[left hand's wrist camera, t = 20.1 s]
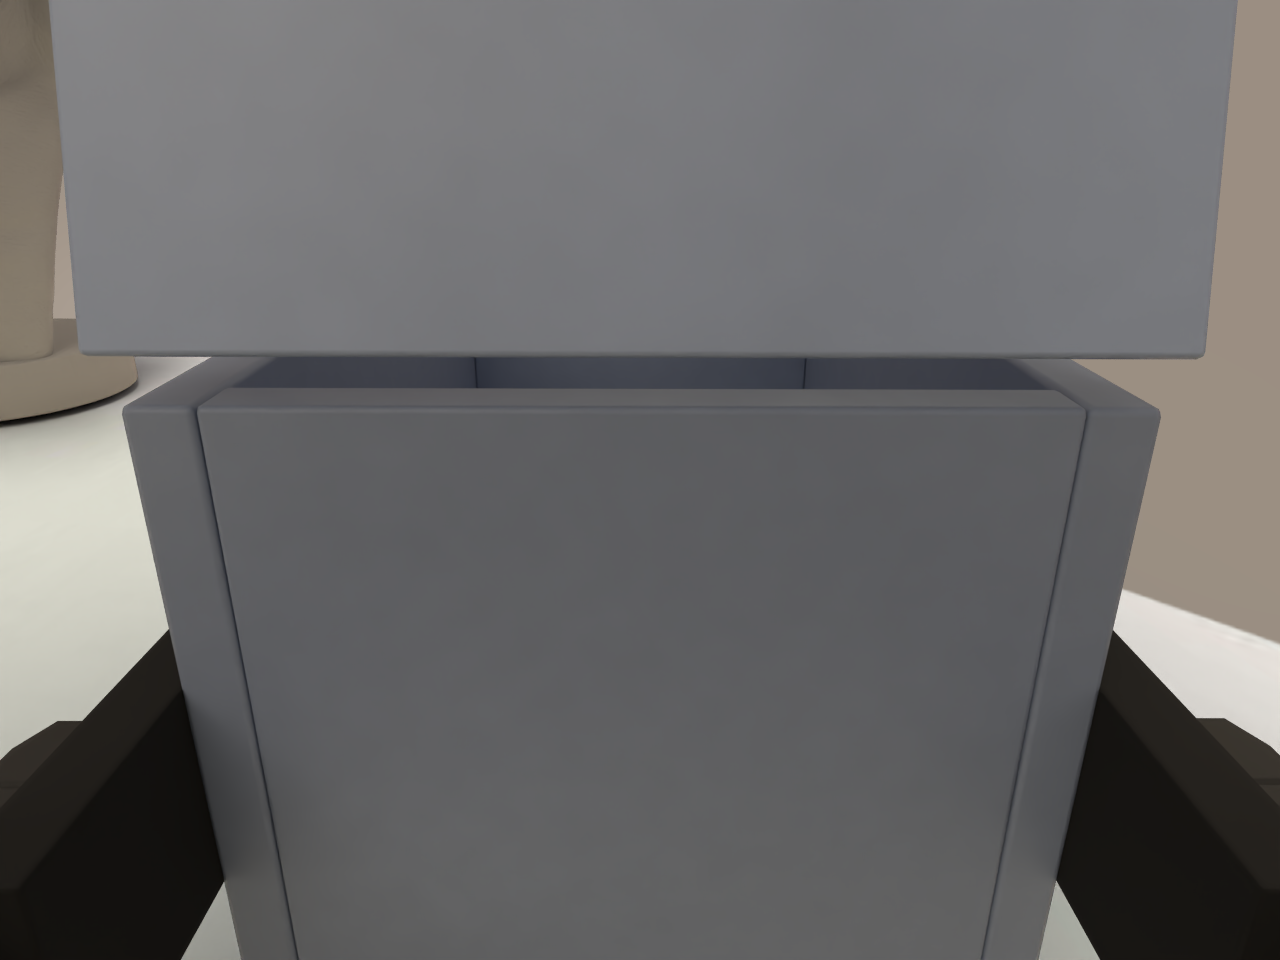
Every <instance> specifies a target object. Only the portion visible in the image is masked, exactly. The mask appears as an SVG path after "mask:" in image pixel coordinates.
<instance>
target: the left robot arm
mask: <svg viewBox="0 0 1280 960" xmlns="http://www.w3.org/2000/svg"><path fill="white" fill-rule="evenodd" d="M1056 881H1057V882H1058V884H1059V886H1060V888H1061V890H1062V891H1063V893H1064V895H1065V897H1066V899H1067V900H1068V902H1069V904H1070V906H1071V908H1072V910H1073V911H1074V913H1075V915H1076V917H1077V919H1078V920H1079V922H1080V924H1081V926H1082V928H1083V929H1084V931H1085V933H1086V935H1087V937H1088V938H1089V940H1090V942H1091V944H1092V946H1093V947H1094V949H1095V951H1096V953H1097V955H1098V956H1099V958H1100V960H1280V755H1279V754H1278V753H1277V752H1276V751H1275V750H1274V749H1273V748H1272V747H1271V746H1269V745H1268V744H1266V743H1264V742H1263V741H1261V740H1259V739H1258V738H1256V737H1254V736H1253V735H1251V734H1249V733H1248V732H1246V731H1244V730H1243V729H1241V728H1239V727H1238V726H1236V725H1234V724H1233V723H1231V722H1230V721H1228V720H1226V719H1225V718H1195V716H1194V715H1193V714H1192V713H1191V712H1190V711H1189V710H1188V709H1187V708H1186V707H1185V706H1184V705H1183V704H1182V703H1181V702H1180V701H1179V700H1178V698H1177V697H1176V696H1175V695H1174V694H1173V693H1172V692H1171V691H1170V690H1169V689H1168V688H1167V687H1166V686H1165V685H1164V684H1163V683H1162V682H1161V680H1160V679H1159V678H1158V677H1157V676H1156V675H1155V674H1154V673H1153V672H1152V671H1151V670H1150V669H1149V668H1148V667H1147V666H1146V665H1145V663H1144V662H1143V661H1142V660H1141V659H1140V658H1139V657H1138V656H1137V655H1136V654H1135V653H1134V652H1133V651H1132V650H1131V649H1130V648H1129V647H1128V645H1127V644H1126V643H1125V642H1124V641H1123V640H1122V639H1121V638H1120V637H1119V636H1118V635H1117V634H1116V633H1115V632H1114V631H1112V635H1111V640H1110V644H1109V649H1108V653H1107V657H1106V662H1105V666H1104V671H1103V675H1102V680H1101V684H1100V688H1099V692H1098V697H1097V701H1096V706H1095V710H1094V714H1093V719H1092V723H1091V728H1090V732H1089V737H1088V741H1087V746H1086V750H1085V755H1084V759H1083V764H1082V768H1081V772H1080V777H1079V781H1078V786H1077V790H1076V795H1075V799H1074V803H1073V808H1072V812H1071V817H1070V821H1069V826H1068V830H1067V834H1066V839H1065V843H1064V848H1063V852H1062V857H1061V861H1060V865H1059V870H1058V874H1057V879H1056ZM223 882H224V876H223V872H222V867H221V863H220V858H219V854H218V849H217V845H216V840H215V836H214V831H213V827H212V822H211V818H210V813H209V808H208V804H207V799H206V795H205V790H204V786H203V781H202V777H201V772H200V768H199V763H198V759H197V754H196V750H195V745H194V740H193V736H192V731H191V727H190V722H189V718H188V713H187V708H186V704H185V699H184V695H183V690H182V686H181V681H180V676H179V672H178V667H177V663H176V658H175V654H174V649H173V644H172V640H171V635H170V631H169V630H168V631H167V632H166V633H165V634H164V635H163V636H162V637H161V638H160V639H159V640H158V641H157V642H156V643H155V644H154V646H153V647H152V648H151V649H150V650H149V651H148V652H147V653H146V654H145V655H144V656H143V657H142V658H141V659H140V660H139V661H138V662H137V664H136V665H135V666H134V667H133V668H132V669H131V670H130V671H129V672H128V673H127V674H126V675H125V676H124V677H123V678H122V679H121V681H120V682H119V683H118V684H117V685H116V686H115V687H114V688H113V689H112V690H111V691H110V692H109V693H108V694H107V695H106V696H105V697H104V699H103V700H102V701H101V702H100V703H99V704H98V705H97V706H96V707H95V708H94V709H93V710H92V711H91V712H90V713H89V714H88V715H87V717H86V718H85V719H84V720H83V721H57V722H55V723H54V724H52V725H50V726H49V727H47V728H46V729H44V730H42V731H41V732H39V733H37V734H36V735H34V736H32V737H31V738H29V739H27V740H26V741H24V742H23V743H21V744H19V745H18V746H16V747H14V748H13V749H11V750H10V751H9V752H8V753H7V754H6V755H5V756H4V757H3V758H2V759H1V760H0V960H181V958H182V956H183V955H184V953H185V951H186V949H187V947H188V946H189V944H190V942H191V940H192V938H193V937H194V935H195V933H196V931H197V929H198V928H199V926H200V924H201V922H202V920H203V919H204V917H205V915H206V913H207V911H208V909H209V908H210V906H211V904H212V902H213V900H214V899H215V897H216V895H217V893H218V891H219V890H220V888H221V886H222V884H223Z"/></svg>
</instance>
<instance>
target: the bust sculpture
mask: <svg viewBox="0 0 1280 960" xmlns="http://www.w3.org/2000/svg"><path fill="white" fill-rule="evenodd" d="M62 175H63V162H62V150H61V139H60V127H59V115H58V104H57V92H56V81H55V69H54V58H53V46H52V34H51V23H50V11H49V0H0V421H5V420H12V419H18V418H24V417H30V416H36V415H41V414H46V413H51V412H56V411H60V410H65V409H69V408H73V407H77V406H81V405H84V404H88V403H91V402H95V401H98V400H101V399H104V398H106V397H109V396H112V395H114V394H116V393H119V392H121V391H123V390H125V389H126V388H128V387H130V386H131V385H132V384H133V383H135V381H136V380H137V378H138V374H137V369H136V364H135V359H134V356H86V355H83V354H81V353H80V351H79V347H78V335H77V324H76V319H53V302H54V275H55V249H56V235H57V216H58V207H59V199H60V190H61V182H62Z"/></svg>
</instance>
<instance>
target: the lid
mask: <svg viewBox="0 0 1280 960" xmlns="http://www.w3.org/2000/svg"><path fill="white" fill-rule="evenodd" d="M1237 2H1238V0H49V11H50V23H51V34H52V46H53V58H54V69H55V81H56V92H57V104H58V115H59V127H60V139H61V150H62V162H63V173H64V185H65V197H66V208H67V219H68V231H69V242H70V254H71V266H72V278H73V289H74V301H75V312H76V324H77V335H78V347H79V351H80V353H81V354H83V355H86V356H159V357H522V358H886V359H1198V358H1201V357H1203V356H1204V353H1205V348H1206V337H1207V326H1208V316H1209V305H1210V294H1211V283H1212V272H1213V262H1214V251H1215V240H1216V229H1217V218H1218V207H1219V196H1220V186H1221V175H1222V164H1223V153H1224V142H1225V132H1226V121H1227V110H1228V99H1229V88H1230V77H1231V67H1232V56H1233V45H1234V34H1235V24H1236V13H1237Z"/></svg>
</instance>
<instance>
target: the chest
mask: <svg viewBox="0 0 1280 960" xmlns="http://www.w3.org/2000/svg"><path fill="white" fill-rule="evenodd" d="M122 416H123V420H124V425H125V430H126V434H127V439H128V443H129V448H130V452H131V457H132V462H133V466H134V471H135V475H136V480H137V484H138V489H139V494H140V498H141V503H142V507H143V512H144V516H145V521H146V526H147V530H148V535H149V539H150V544H151V548H152V553H153V558H154V562H155V567H156V571H157V576H158V580H159V585H160V590H161V594H162V599H163V603H164V608H165V612H166V617H167V622H168V626H169V631H170V635H171V640H172V644H173V649H174V654H175V658H176V663H177V667H178V672H179V676H180V681H181V686H182V690H183V695H184V699H185V704H186V708H187V713H188V718H189V722H190V727H191V731H192V736H193V740H194V745H195V750H196V754H197V759H198V763H199V768H200V772H201V777H202V781H203V786H204V790H205V795H206V799H207V804H208V808H209V813H210V818H211V822H212V827H213V831H214V836H215V840H216V845H217V849H218V854H219V858H220V863H221V867H222V872H223V876H224V882H225V887H226V891H227V896H228V900H229V905H230V910H231V914H232V919H233V923H234V928H235V932H236V937H237V942H238V946H239V951H240V955H241V960H1038V958H1039V954H1040V949H1041V945H1042V941H1043V936H1044V932H1045V927H1046V923H1047V918H1048V914H1049V910H1050V905H1051V901H1052V896H1053V892H1054V887H1055V883H1056V879H1057V874H1058V870H1059V865H1060V861H1061V857H1062V852H1063V848H1064V843H1065V839H1066V834H1067V830H1068V826H1069V821H1070V817H1071V812H1072V808H1073V803H1074V799H1075V795H1076V790H1077V786H1078V781H1079V777H1080V772H1081V768H1082V764H1083V759H1084V755H1085V750H1086V746H1087V741H1088V737H1089V732H1090V728H1091V723H1092V719H1093V714H1094V710H1095V706H1096V701H1097V697H1098V692H1099V688H1100V684H1101V680H1102V675H1103V671H1104V666H1105V662H1106V657H1107V653H1108V649H1109V644H1110V640H1111V635H1112V631H1113V627H1114V622H1115V618H1116V613H1117V609H1118V604H1119V600H1120V596H1121V591H1122V587H1123V582H1124V578H1125V573H1126V569H1127V564H1128V560H1129V556H1130V551H1131V547H1132V543H1133V538H1134V534H1135V529H1136V525H1137V520H1138V516H1139V512H1140V507H1141V503H1142V498H1143V494H1144V489H1145V485H1146V481H1147V476H1148V472H1149V467H1150V463H1151V458H1152V454H1153V449H1154V445H1155V441H1156V436H1157V432H1158V427H1159V423H1160V418H1161V416H1160V411H1159V409H1157V408H1156V407H1154V406H1152V405H1150V404H1149V403H1147V402H1145V401H1143V400H1141V399H1140V398H1138V397H1136V396H1134V395H1133V394H1131V393H1129V392H1127V391H1126V390H1124V389H1122V388H1120V387H1119V386H1117V385H1115V384H1113V383H1111V382H1110V381H1108V380H1106V379H1104V378H1103V377H1101V376H1099V375H1097V374H1096V373H1094V372H1092V371H1090V370H1089V369H1087V368H1085V367H1083V366H1081V365H1080V364H1078V363H1076V362H1074V361H1073V360H1071V359H886V358H522V357H211V358H209V359H207V360H206V361H204V362H202V363H200V364H199V365H197V366H195V367H193V368H192V369H190V370H188V371H186V372H184V373H183V374H181V375H179V376H177V377H176V378H174V379H172V380H170V381H168V382H167V383H165V384H163V385H161V386H160V387H158V388H156V389H154V390H153V391H151V392H149V393H147V394H145V395H144V396H142V397H140V398H138V399H137V400H135V401H133V402H131V403H129V404H128V405H126V406H124V408H123V413H122Z"/></svg>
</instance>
